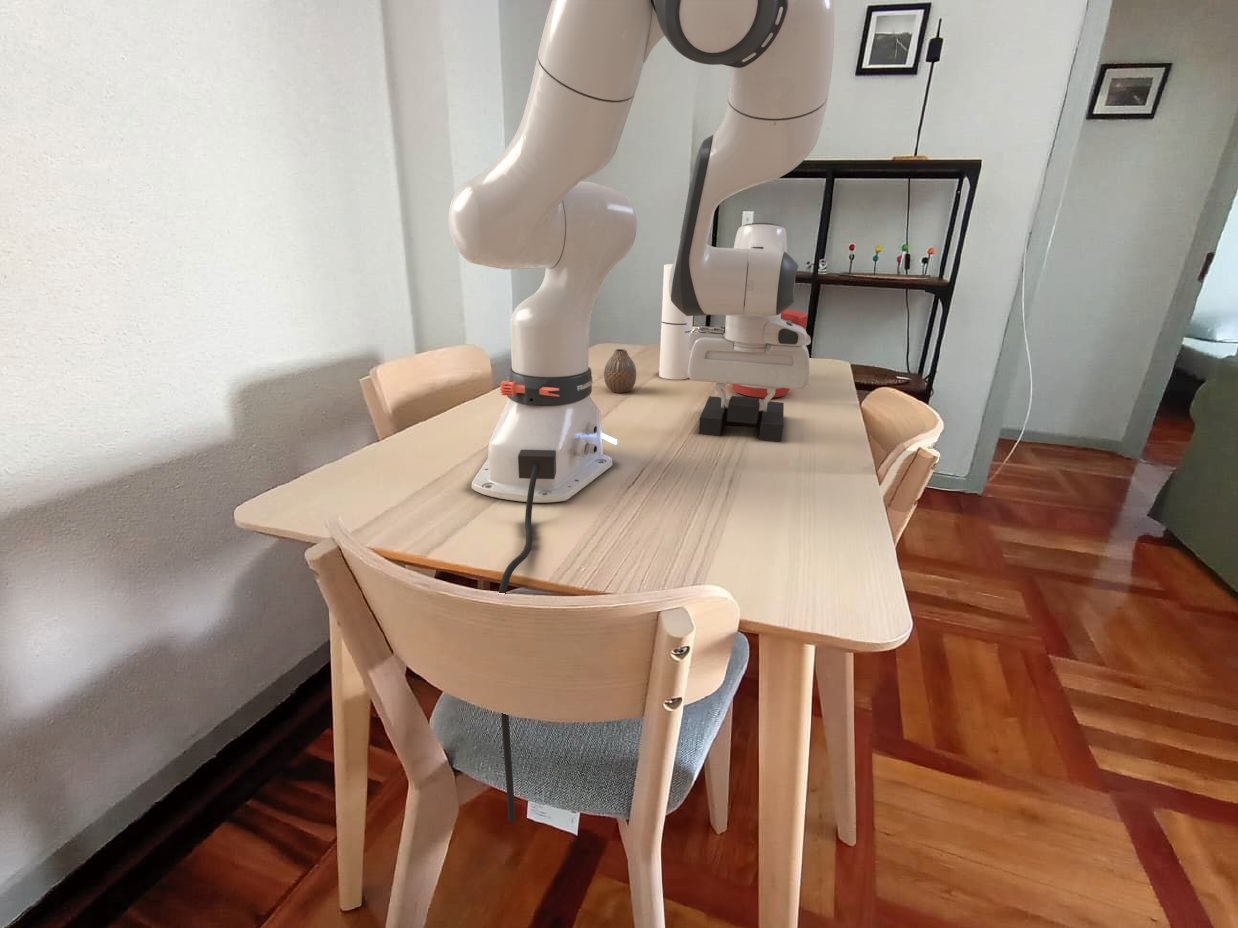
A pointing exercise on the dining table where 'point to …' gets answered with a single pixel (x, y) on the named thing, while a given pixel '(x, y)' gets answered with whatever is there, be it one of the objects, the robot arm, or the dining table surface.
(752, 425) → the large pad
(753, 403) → the small block
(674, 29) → the robot arm
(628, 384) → the vase
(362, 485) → the dining table surface
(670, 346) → the cylindrical container
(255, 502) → the dining table surface
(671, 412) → the dining table surface
